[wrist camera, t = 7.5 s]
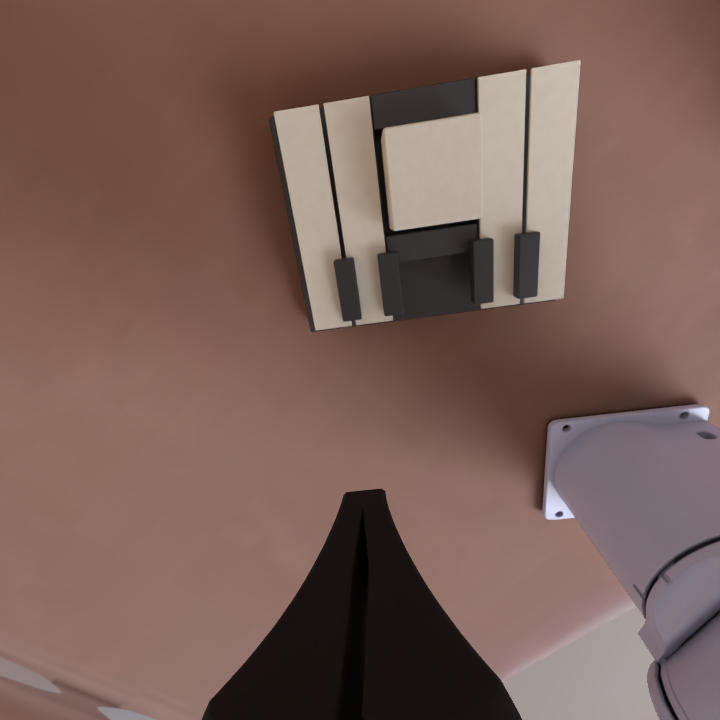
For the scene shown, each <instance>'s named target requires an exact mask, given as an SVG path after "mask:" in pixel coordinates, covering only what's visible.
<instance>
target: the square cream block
mask: <svg viewBox="0 0 720 720" xmlns="http://www.w3.org/2000/svg"><path fill="white" fill-rule="evenodd" d="M381 149H382V159H383V169H384V179H385V189H386V199H387V209H388V218H389V227H390V229H391V230H393V231H399V230H406V229H413V228H419V227H426V226H433V225H440V224H447V223H454V222H461V221H468V220H474V219H481V218H482V217H483V172H482V114H481V113H480V112H478V113H472V114H466V115H460V116H454V117H447V118H441V119H435V120H429V121H423V122H417V123H411V124H405V125H398V126H392V127H386V128H384V129H383V132H382V137H381Z"/></svg>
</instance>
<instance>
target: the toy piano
mask: <svg viewBox="0 0 720 720" xmlns="http://www.w3.org/2000/svg"><path fill="white" fill-rule="evenodd" d="M529 99H530V74H526V98H525V135H524V172H523V209H522V233H525V229H526V197H527V164H528V131H529ZM369 101H370V110H371V119H372V129H373V138H374V147H375V157H376V166H377V175H378V185H379V194H380V203H381V212H382V222H383V231H384V240H385V250H386V252H391V251H397V252H398V258H399V268H400V279H401V289H402V300H403V310H404V313H403V314H400V315H393V321H400V320H407V319H415V318H423V317H430V316H438V315H446V314H453V313H461V312H469V311H476V310H484V309H481V304H476V305H475V304H473V303H472V302H471V281H470V241H471V240H476V239H480V231H479V219H474V220H468V221H461V222H454V223H447V224H440V225H433V226H426V227H419V228H413V229H406V230H399V231H393V230H391V229H390V227H389V218H388V209H387V199H386V189H385V179H384V169H383V159H382V149H381V137H382V132H383V129H384V128H386V127H392V126H398V125H405V124H411V123H417V122H423V121H429V120H435V119H441V118H447V117H454V116H460V115H466V114H472V113H478V89H477V78H476V79H475V78H470V79H464V80H458V81H452V82H446V83H440V84H435V85H429V86H423V87H417V88H411V89H405V90H399V91H393V92H387V93H381V94H375V95H371V96H369ZM319 111H320V117H321V124H322V130H323V137H324V144H325V150H326V157H327V163H328V170H329V177H330V183H331V190H332V196H333V203H334V209H335V216H336V223H337V229H338V236H339V242H340V249H341V255H342V258H346V253H345V247H344V240H343V233H342V226H341V220H340V213H339V206H338V199H337V193H336V186H335V179H334V172H333V165H332V159H331V152H330V145H329V138H328V132H327V125H326V118H325V111H324V108H322V109H319ZM269 122H270V127H271V132H272V137H273V142H274V147H275V152H276V157H277V162H278V167H279V172H280V177H281V182H282V187H283V192H284V198H285V203H286V208H287V213H288V218H289V223H290V228H291V233H292V238H293V243H294V248H295V253H296V258H297V263H298V268H299V273H300V279H301V284H302V289H303V294H304V299H305V304H306V309H307V314H308V319H309V324H310V329H311V332H315V331H323V330H315V325H314V320H313V315H312V310H311V304H310V299H309V294H308V289H307V284H306V278H305V273H304V268H303V263H302V258H301V252H300V247H299V242H298V237H297V232H296V226H295V221H294V216H293V211H292V206H291V200H290V195H289V190H288V185H287V180H286V174H285V169H284V164H283V159H282V154H281V148H280V143H279V138H278V133H277V128H276V122H275V117H270V118H269ZM554 300H556V299H554ZM546 301H553V300H546ZM539 302H545V301H539ZM531 303H538V302H531ZM522 304H530V303H523V298H522V299H520V304H516V305H522ZM508 306H515V305H508ZM500 307H507V306H500ZM493 308H499V307H493ZM485 309H492V308H485ZM385 322H392V321H385ZM378 323H384V322H378ZM370 324H376V323H370ZM362 325H369V324H362ZM353 326H361V325H356V321H355V320H354V321H352V326H347V327H353ZM339 328H346V327H339ZM332 329H338V328H332ZM324 330H330V329H324Z"/></svg>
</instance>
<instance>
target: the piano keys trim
mask: <svg viewBox="0 0 720 720" xmlns="http://www.w3.org/2000/svg"><path fill="white" fill-rule="evenodd" d="M580 62H581V60H577V61H571V62H565V63H559V64H553V65H547V66H542V67H536V68H532V69H531V70H530V99H529V131H528V164H527V197H526V229H525V233H522V209H523V172H524V135H525V98H526V69H524V70H518V71H512V72H506V73H500V74H494V75H488V76H482V77H478V78H477V89H478V112H480V113H481V114H482V172H483V217H482V218H481V219H479V231H480V239H476V240H471V241H470V281H471V302H472V303H473V304H475V305H476V304H481V309H485V308H493V307H500V306H508V305H516V304H520V299H522V298H523V303H531V302H539V301H546V300H554V299H562V298H563V297H564V283H565V270H566V256H567V242H568V228H569V214H570V200H571V186H572V173H573V159H574V145H575V131H576V117H577V103H578V90H579V76H580ZM323 105H324V111H325V118H326V125H327V132H328V138H329V145H330V152H331V159H332V165H333V172H334V179H335V186H336V193H337V199H338V206H339V213H340V220H341V226H342V233H343V240H344V247H345V253H346V258H342V255H341V249H340V242H339V236H338V229H337V223H336V216H335V209H334V203H333V196H332V190H331V183H330V177H329V170H328V163H327V157H326V150H325V144H324V137H323V130H322V124H321V117H320V111H319V105H318V104H317V105H311V106H305V107H299V108H293V109H287V110H281V111H275V112H274V117H275V122H276V128H277V133H278V138H279V143H280V148H281V154H282V159H283V164H284V169H285V174H286V180H287V185H288V190H289V195H290V200H291V206H292V211H293V216H294V221H295V226H296V232H297V237H298V242H299V247H300V252H301V258H302V263H303V268H304V273H305V278H306V284H307V289H308V294H309V299H310V304H311V310H312V315H313V320H314V325H315V330H324V329H332V328H339V327H347V326H352V321H354V320H355V321H356V325H362V324H370V323H378V322H385V321H393V315H400V314H403V313H404V310H403V300H402V289H401V279H400V268H399V258H398V252H397V251H391V252H386V250H385V240H384V231H383V222H382V212H381V203H380V194H379V185H378V175H377V166H376V157H375V147H374V138H373V129H372V119H371V110H370V101H369V96H364V97H358V98H352V99H346V100H340V101H334V102H329V103H324V104H323Z"/></svg>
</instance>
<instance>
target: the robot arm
mask: <svg viewBox="0 0 720 720" xmlns="http://www.w3.org/2000/svg"><path fill="white" fill-rule="evenodd" d="M682 413H683V414H682ZM681 414H682V415H681ZM708 416H709V408H708V407H706V406H704V405H702V404H693V405H684V406H675V407H666V408H657V409H648V410H639V411H630V412H621V413H612V414H603V415H594V416H585V417H576V418H567V419H558V420H553V421H552V422H550V423H549V425H548V431H547V446H546V462H545V477H544V493H543V508H542V513H543V515H544V517H545V518H546V519H548V520H555V519H565V518H575V519H576V520H577V521H578V523H579V524H580V526H581V527H582V529H583V530H584V531H585V533H586V534H587V536H588V537H589V539H590V540H591V542H592V543H593V544H594V546H595V547H596V549H597V550H598V552H599V553H600V554H601V556H602V557H603V559H604V560H605V562H606V563H607V565H608V566H609V567H610V569H611V570H612V572H613V573H614V575H615V576H616V578H617V579H618V580H619V582H620V583H621V585H622V586H623V588H624V589H625V590H626V592H627V593H628V595H629V596H630V598H631V599H632V601H633V602H634V603H635V605H636V606H637V608H638V609H639V610H640V612H641V613H642V615H643V616H644V618H645V619H646V622H645V624H644V626H643V627H642V629H641V630H640V631H639V633H638V634H639V636H640V637H641V639H642V640H643V642H644V643H645V645H646V646H647V648H648V649H649V651H650V652H651V654H652V656H653V657H654V659H655V660H654V662H653V663H652V664H651V665H650V667H649V670H648V674H647V682H648V688H649V693H650V696H651V699H652V702H653V705H654V708H655V710H656V712H657V715H658V717H659V718H660V720H720V429H719V428H718V427H716V426H714V425H713V424H711V423H709V422H708V421H707V420H708ZM565 425H568V426H567V427H566V428H564V429H563V427H564V426H565ZM202 720H522V719H521V717H520V714H519V712H518V711H517V709H516V707H515V705H514V703H513V701H512V699H511V698H510V696H509V694H508V692H507V690H506V689H505V687H504V685H503V683H502V681H501V680H500V679H499V677H498V676H497V675H496V674H495V673H494V672H493V671H492V670H491V668H490V667H489V666H488V665H487V664H486V663H485V662H484V660H483V659H482V658H481V657H480V656H479V655H478V653H477V652H476V651H475V650H474V649H473V648H472V646H471V645H470V644H469V643H468V641H467V640H466V639H465V638H464V636H463V635H462V634H461V633H460V631H459V630H458V629H457V627H456V626H455V625H454V623H453V622H452V621H451V619H450V618H449V617H448V615H447V614H446V613H445V611H444V610H443V608H442V607H441V606H440V604H439V603H438V601H437V600H436V598H435V597H434V595H433V594H432V592H431V591H430V589H429V588H428V586H427V585H426V583H425V582H424V580H423V578H422V577H421V575H420V573H419V572H418V570H417V568H416V566H415V565H414V563H413V561H412V559H411V557H410V556H409V554H408V552H407V550H406V548H405V546H404V544H403V542H402V540H401V538H400V535H399V533H398V531H397V529H396V526H395V524H394V522H393V519H392V516H391V513H390V511H389V507H388V504H387V500H386V493H385V491H384V490H383V489H374V490H364V491H354V492H346V493H345V494H344V496H343V500H342V503H341V506H340V509H339V511H338V514H337V517H336V519H335V522H334V524H333V526H332V529H331V531H330V533H329V535H328V537H327V540H326V542H325V544H324V546H323V548H322V550H321V552H320V554H319V556H318V558H317V560H316V561H315V563H314V565H313V567H312V569H311V571H310V573H309V574H308V576H307V578H306V579H305V581H304V583H303V584H302V586H301V588H300V589H299V591H298V592H297V594H296V596H295V597H294V599H293V600H292V602H291V603H290V605H289V606H288V607H287V609H286V610H285V612H284V613H283V615H282V616H281V618H280V619H279V620H278V622H277V623H276V624H275V626H274V627H273V628H272V630H271V631H270V632H269V634H268V635H267V636H266V637H265V639H264V640H263V641H262V642H261V644H260V645H259V646H258V647H257V649H256V650H255V651H254V652H253V653H252V655H251V656H250V657H249V658H248V660H247V661H246V662H245V663H244V664H243V665H242V667H241V668H240V669H239V670H238V671H237V672H236V673H235V674H234V675H233V676H232V678H231V679H230V680H229V681H228V682H227V683H226V684H225V685H224V686H223V687H222V688H221V690H220V691H219V692H218V693H217V694H216V695H215V696H214V697H213V698H212V699H211V700H210V702H209V704H208V706H207V708H206V711H205V713H204V715H203V718H202Z"/></svg>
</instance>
